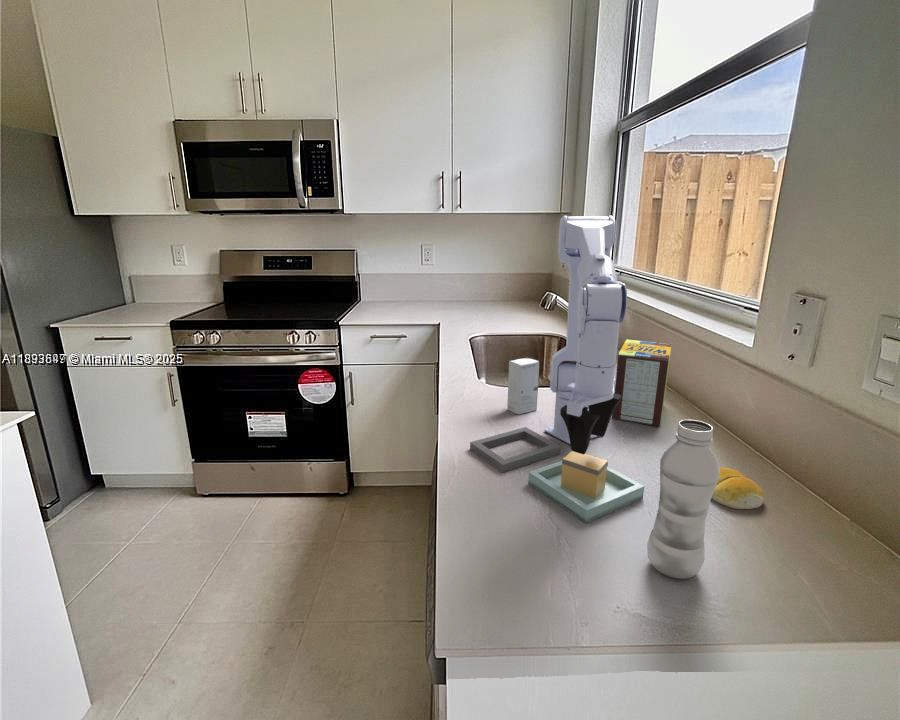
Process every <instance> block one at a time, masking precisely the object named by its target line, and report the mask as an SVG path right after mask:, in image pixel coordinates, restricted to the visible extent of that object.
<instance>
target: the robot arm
mask: <svg viewBox="0 0 900 720" xmlns="http://www.w3.org/2000/svg"><path fill="white" fill-rule="evenodd" d="M616 229H617V228H616V219H615V218H614V217H613V215H608V216H599V215H598V216H587V215H586V216H584V215H583V216H576V215H575V216H571V215H570V216H568V215H562V217H561V218H560V220H559V227H558V249H557V250H558V253H557V255H558V261H560V262H561V263H564V264H566V266H567V269H568V274H569V279H568V300H567V301H568V302H567V321H566V340H565V341H566V345H565V346H564V347H562V348H561V349H560V350H557V352H555V353H554V354H553V356H552V357H551V365H550V371H549V372H550V375H549V388H550V391H552V393H555V403H554V420H553V426H550V427H546V428H544V432H545V433H548V434H550V435H552V436H554V437H555V438H557V439H559V440H561V441H563V442H565V443H566V444H568V445H570V448H571V452H572V451H574V452H577V453H580V454H587V451H588V448H589V444H590V440H591V439H594V438H596V437H600V438H604V437H605V435H606V433H607V430H608V427H609V425H610V422H611V419H612V414H613V412H614V410H615V408H616V406H617V405H618V403H619V402H620V401H621V398H622V396H621V395H619V394H615V393H614V392H615V384H616V378H615V375H616V373H615V372H616V363H617V356H618V345H619V344H618V343H619V335H620V325H621V324H623V322H624V321H625V318H626V314H627V308H628V290H627V287H626V286H627V285H626V284H625V283H623V282H622V281H618V276H617V273H616V268H615V264H614V261H613V259H612V258H611V257H610V256H609V255H610V252H611V250H612V247H613V246H614V242H615V239H616V238H615V237H616ZM619 323H620V324H619ZM572 362H573V363H572ZM574 362H575V363H574Z"/></svg>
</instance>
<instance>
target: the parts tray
mask: <svg viewBox="0 0 900 720" xmlns="http://www.w3.org/2000/svg"><path fill="white" fill-rule="evenodd" d="M561 477H562V460H561V461H557V462H555V463H552V464H549V465H545V466H543V467H539V468H537V469H534V470H531V471H528V484H529V485H530V486H531V487H532V488H534V489H536V490H537V491H538V492H540V493H541V494H543V495H544V496H546V497H547V498H549V499H550V500H551V501H553V502H554V503H556V504H557V505H558V506H560V507H561V508H563V509H565V510H566V511H568V512H569V513H570V514H572V515H573V516H575V517H576V518H577V519H579V520H580V521H582V522H583V523H585V524H588V523H590V522H592V521H594V520H597V519H599V518H601V517H604V516H606V515H608V514H610V513H613V512H615V511H617V510H620V509H621V508H624V507H626V506H628V505H630V504H633V503H636V502H637V501H640V500H641V499H643V498H644V493H645V485H643V484H642V483H640V482H638V481H635V480H634V479H632V478H630V477H628V476H627V475H625V474H623V473H622V472H619V471H617V470H616V469H613V468H611V467H609V466H607V474H606V483H605V489H604V490H603V491H602V492H601V493H600V494H599V495H598V496H597V497H596V498H593V497H590V496H587V495H585V494H582V493H579V492H576V491H574V490H571V489H568V488H565V487H563V486H561Z"/></svg>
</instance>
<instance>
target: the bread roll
mask: <svg viewBox="0 0 900 720" xmlns="http://www.w3.org/2000/svg"><path fill="white" fill-rule="evenodd" d="M765 496H766V495H765V492H764V490H763V488H761V486H760V485H758V483H756V482H755V481H754V480H752V479H751V478H748V477H746V476H745V474H743V473H741V472H740V471H738V470H737V469H733V468H729V467H720V476H719V480H718V482H717V485H716V487H715V490H714V493H713V495H712V498H711V499H712V500H713V501H715V502H716V503H718V504H721V505H723V506H726V507H728V508H732V509H736V510H753V508H754V509H757V508H759V507H761V506H762V505H763V501H764V499H765Z"/></svg>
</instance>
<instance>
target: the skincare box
mask: <svg viewBox="0 0 900 720" xmlns="http://www.w3.org/2000/svg"><path fill="white" fill-rule="evenodd" d="M539 375H540V361H539V360H537V359H533V358H530V357H524V358H517V359H514V360H509V362H508V382H507V383H508V384H507V403H506V408H507V409H506V410H509V411H510V412H512V413H514V414H516V415H523V414H527V413H530V412H535V411H537V408H538V398H539V397H538V394H539V392H538V391H539Z"/></svg>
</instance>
